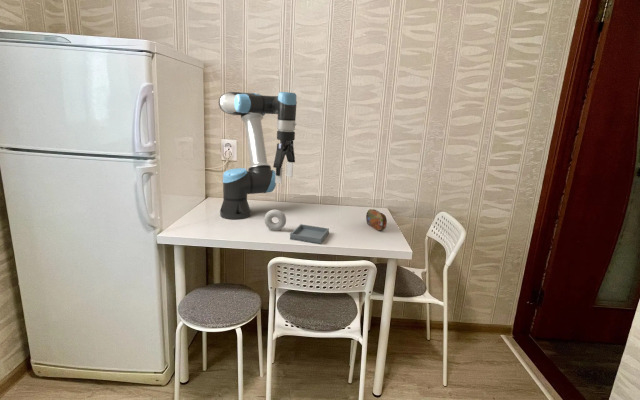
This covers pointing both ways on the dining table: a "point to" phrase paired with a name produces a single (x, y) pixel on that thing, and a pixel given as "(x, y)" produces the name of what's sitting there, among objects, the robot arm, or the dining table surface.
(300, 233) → the tray
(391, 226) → the dining table surface
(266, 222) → the donut
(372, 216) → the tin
